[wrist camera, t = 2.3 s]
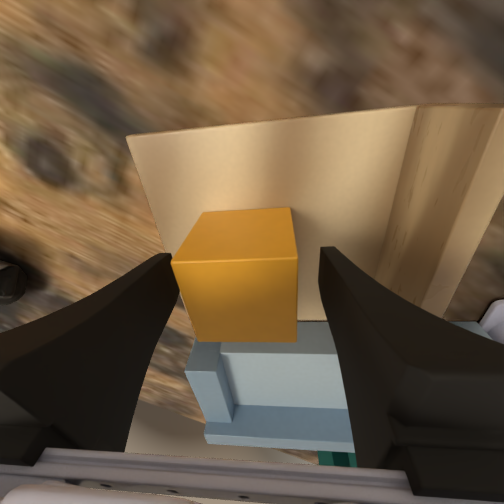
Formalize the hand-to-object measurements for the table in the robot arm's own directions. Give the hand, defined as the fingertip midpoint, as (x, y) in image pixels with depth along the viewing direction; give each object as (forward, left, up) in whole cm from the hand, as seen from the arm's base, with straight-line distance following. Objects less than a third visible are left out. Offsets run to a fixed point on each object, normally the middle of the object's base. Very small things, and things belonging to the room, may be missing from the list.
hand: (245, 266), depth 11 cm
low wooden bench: (-2, 0, -4) cm, 5 cm away
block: (0, 0, -2) cm, 2 cm away
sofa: (-6, +14, -4) cm, 16 cm away
